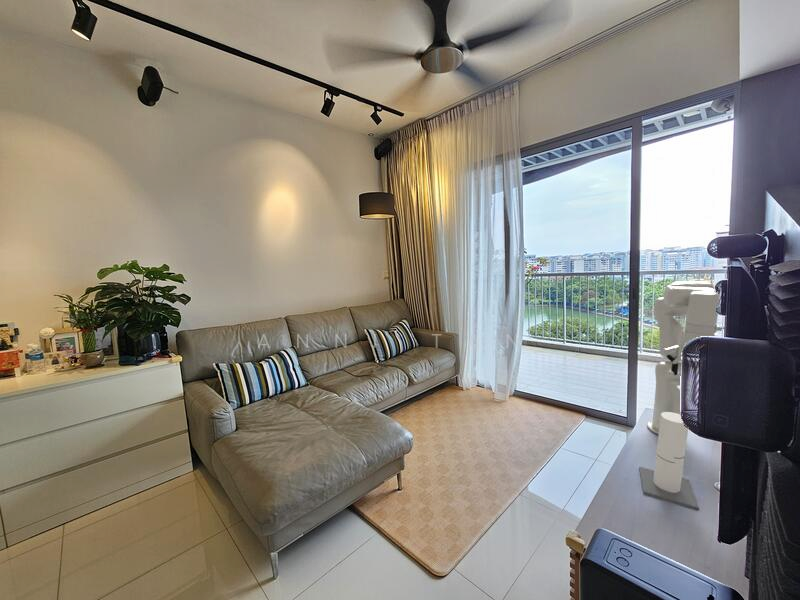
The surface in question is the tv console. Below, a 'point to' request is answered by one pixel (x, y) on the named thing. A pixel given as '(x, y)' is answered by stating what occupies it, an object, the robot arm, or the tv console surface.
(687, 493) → the rubber mat
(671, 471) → the cylindrical container
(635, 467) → the tv console surface
